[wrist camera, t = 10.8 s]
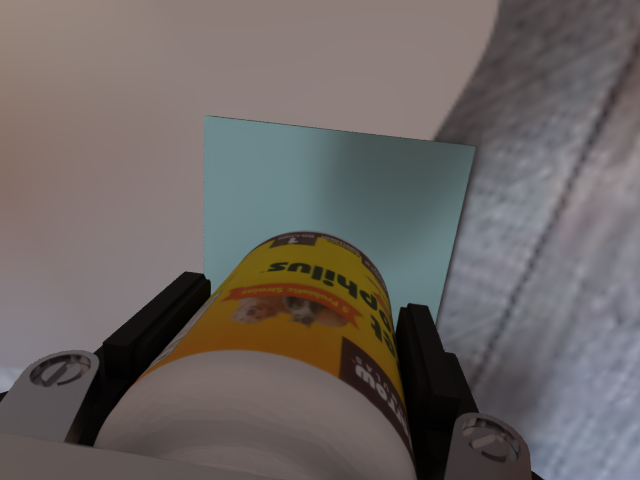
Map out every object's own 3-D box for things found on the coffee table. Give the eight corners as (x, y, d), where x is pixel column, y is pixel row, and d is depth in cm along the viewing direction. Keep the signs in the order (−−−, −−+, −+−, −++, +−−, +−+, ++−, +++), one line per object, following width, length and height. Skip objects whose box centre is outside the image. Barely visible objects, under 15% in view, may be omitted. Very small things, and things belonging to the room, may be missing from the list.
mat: (209, 115, 16) (204, 115, 16) (471, 145, 16) (475, 146, 15) (207, 337, 20) (202, 344, 19) (420, 370, 19) (422, 378, 18)
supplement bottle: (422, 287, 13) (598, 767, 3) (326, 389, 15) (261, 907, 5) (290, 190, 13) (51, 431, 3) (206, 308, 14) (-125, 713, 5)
